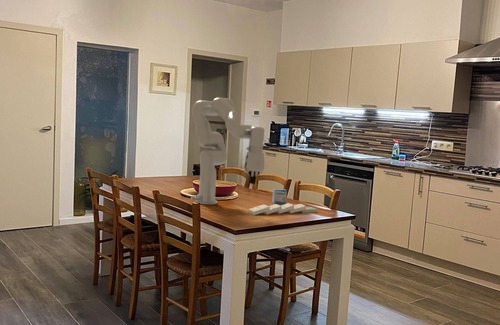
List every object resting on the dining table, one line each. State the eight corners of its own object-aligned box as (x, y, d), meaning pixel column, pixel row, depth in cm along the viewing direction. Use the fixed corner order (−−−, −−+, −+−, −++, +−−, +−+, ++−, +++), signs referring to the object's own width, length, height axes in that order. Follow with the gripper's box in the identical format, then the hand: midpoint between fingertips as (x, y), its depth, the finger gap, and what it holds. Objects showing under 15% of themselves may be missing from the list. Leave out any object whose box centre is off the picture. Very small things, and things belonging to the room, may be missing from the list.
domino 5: (302, 209, 278) (316, 208, 283) (296, 207, 283) (310, 206, 288) (302, 213, 278) (316, 212, 283) (296, 210, 283) (310, 210, 288)
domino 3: (278, 210, 270) (293, 205, 274) (273, 208, 275) (288, 203, 279) (279, 213, 271) (294, 208, 275) (273, 211, 276) (288, 206, 280)
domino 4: (290, 209, 273) (305, 206, 277) (285, 207, 279) (300, 203, 282) (290, 213, 274) (306, 209, 277) (285, 210, 279) (301, 207, 283)
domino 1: (253, 211, 262) (269, 206, 266) (248, 209, 267) (263, 204, 271) (254, 215, 262) (270, 210, 266) (248, 212, 267) (264, 207, 272)
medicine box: (273, 203, 301) (274, 189, 300) (271, 202, 305) (272, 188, 304) (285, 203, 302) (287, 190, 302) (284, 202, 307) (285, 188, 306)
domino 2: (266, 211, 266) (281, 206, 270) (260, 208, 271) (275, 203, 275) (266, 214, 266) (282, 209, 271) (261, 212, 271) (276, 207, 276)
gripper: (247, 150, 254) (243, 184, 256) (271, 151, 262) (267, 184, 264) (240, 148, 260) (236, 182, 263) (263, 149, 268) (260, 182, 270)
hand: (252, 183), depth 263 cm, fingers closed
